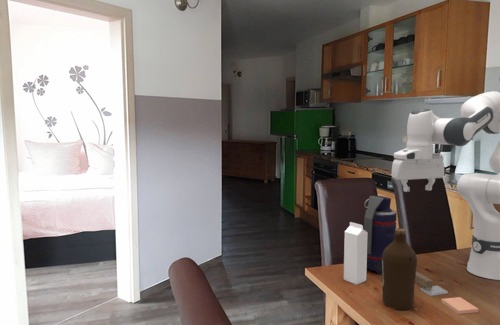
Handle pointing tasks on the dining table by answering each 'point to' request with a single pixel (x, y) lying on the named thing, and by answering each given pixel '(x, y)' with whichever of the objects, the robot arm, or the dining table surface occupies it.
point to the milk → (355, 254)
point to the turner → (428, 285)
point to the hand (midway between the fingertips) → (417, 190)
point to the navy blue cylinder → (378, 229)
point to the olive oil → (399, 273)
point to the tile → (459, 305)
